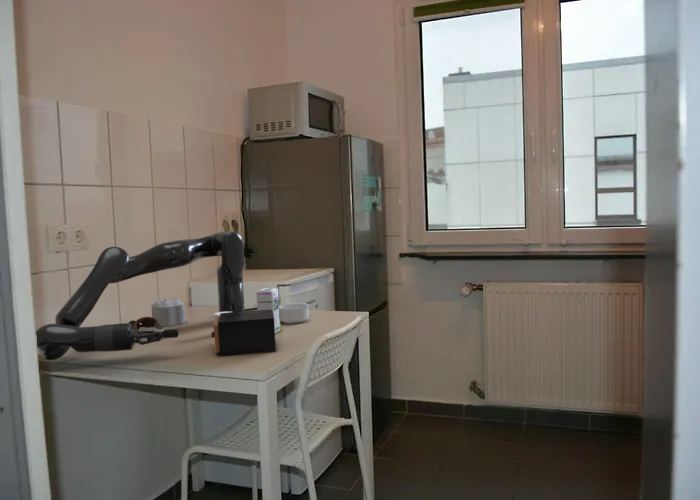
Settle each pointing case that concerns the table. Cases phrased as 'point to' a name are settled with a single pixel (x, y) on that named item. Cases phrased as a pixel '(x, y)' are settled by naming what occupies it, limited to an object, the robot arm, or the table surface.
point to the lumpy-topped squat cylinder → (168, 312)
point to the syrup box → (269, 304)
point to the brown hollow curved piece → (144, 323)
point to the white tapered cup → (218, 315)
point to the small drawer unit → (246, 332)
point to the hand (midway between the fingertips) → (178, 332)
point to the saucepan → (294, 312)
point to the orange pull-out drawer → (216, 335)
